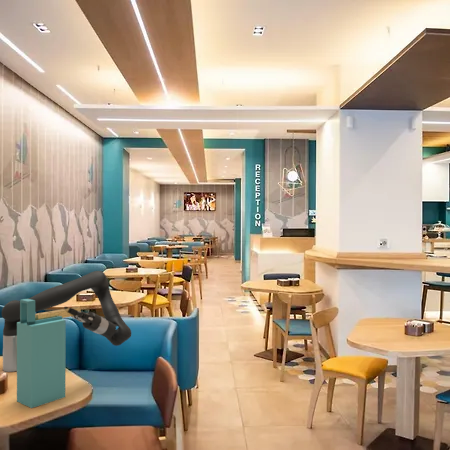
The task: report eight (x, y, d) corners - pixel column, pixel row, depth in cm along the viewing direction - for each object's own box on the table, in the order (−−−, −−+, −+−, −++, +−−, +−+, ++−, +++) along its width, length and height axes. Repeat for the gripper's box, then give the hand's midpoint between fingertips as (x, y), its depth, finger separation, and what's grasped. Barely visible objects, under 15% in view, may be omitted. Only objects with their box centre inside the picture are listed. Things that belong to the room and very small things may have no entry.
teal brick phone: (16, 401, 191) (16, 299, 191) (50, 390, 203) (50, 294, 202) (31, 408, 184) (31, 302, 184) (65, 396, 196) (65, 297, 196)
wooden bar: (33, 321, 192) (34, 314, 192) (76, 313, 208) (76, 306, 208) (38, 322, 190) (38, 315, 190) (80, 314, 206) (80, 307, 206)
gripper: (89, 313, 220) (61, 299, 208) (109, 317, 211) (80, 303, 199) (82, 329, 217) (53, 315, 205) (102, 333, 209) (72, 319, 197)
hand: (66, 309), depth 202 cm, fingers closed on wooden bar, 3 cm apart
